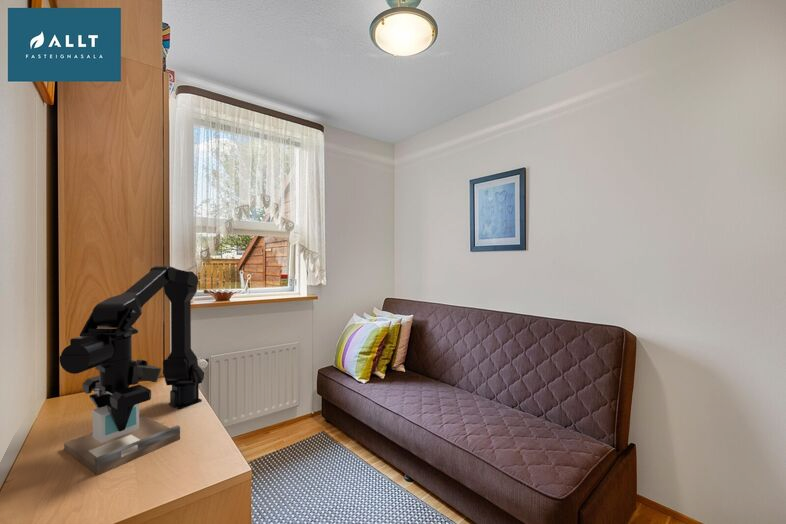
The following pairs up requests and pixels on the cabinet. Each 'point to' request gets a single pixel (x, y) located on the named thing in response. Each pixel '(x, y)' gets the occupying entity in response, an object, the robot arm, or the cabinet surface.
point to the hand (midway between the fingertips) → (116, 427)
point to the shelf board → (121, 445)
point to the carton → (112, 424)
